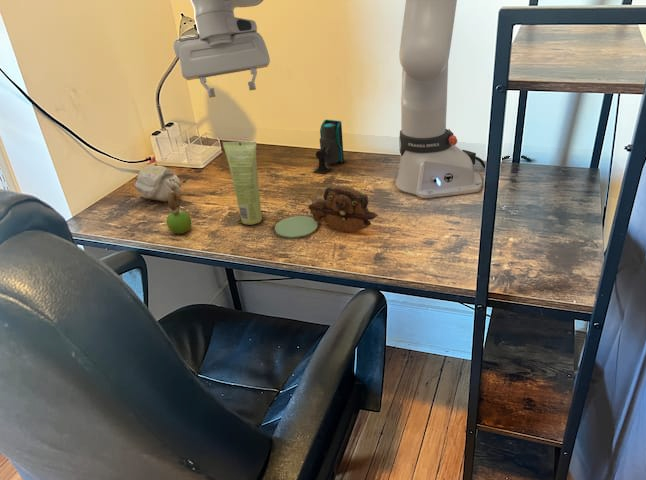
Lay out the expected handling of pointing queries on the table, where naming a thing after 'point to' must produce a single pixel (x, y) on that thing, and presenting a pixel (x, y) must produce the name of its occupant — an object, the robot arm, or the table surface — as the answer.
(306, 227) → the coaster
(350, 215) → the wooden carving
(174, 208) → the green bulbous piece
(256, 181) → the tube
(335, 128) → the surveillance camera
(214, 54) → the robot arm
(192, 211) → the table surface
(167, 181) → the fossil replica
